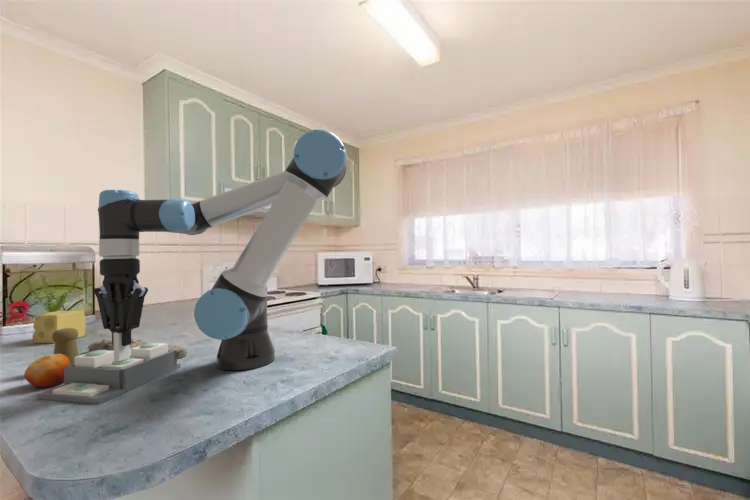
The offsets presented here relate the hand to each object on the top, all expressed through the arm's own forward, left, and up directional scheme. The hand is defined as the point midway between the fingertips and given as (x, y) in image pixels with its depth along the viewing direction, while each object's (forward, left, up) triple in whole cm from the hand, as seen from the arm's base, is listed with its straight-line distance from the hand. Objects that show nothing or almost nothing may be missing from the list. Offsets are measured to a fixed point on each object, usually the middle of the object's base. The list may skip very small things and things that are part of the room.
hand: (122, 359), depth 81 cm
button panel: (+4, -2, -6) cm, 7 cm away
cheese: (+65, -34, -6) cm, 73 cm away
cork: (+26, -7, -6) cm, 27 cm away
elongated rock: (+19, -22, -7) cm, 29 cm away
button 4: (0, -8, -2) cm, 8 cm away
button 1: (+7, 0, -2) cm, 8 cm away
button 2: (0, 0, -4) cm, 4 cm away
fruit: (+19, +2, -6) cm, 20 cm away
